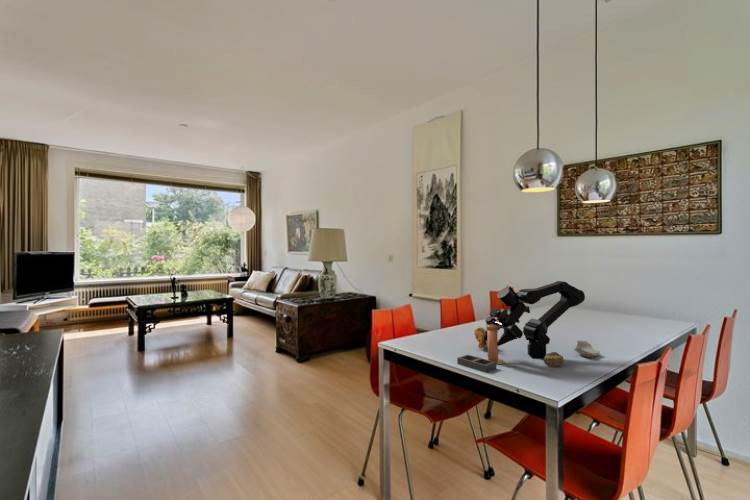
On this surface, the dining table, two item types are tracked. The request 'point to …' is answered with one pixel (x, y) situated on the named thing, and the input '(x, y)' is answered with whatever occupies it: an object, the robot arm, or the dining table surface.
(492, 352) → the plug
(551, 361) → the stone
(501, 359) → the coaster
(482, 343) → the toy
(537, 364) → the dining table surface
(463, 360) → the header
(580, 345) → the pottery shard
